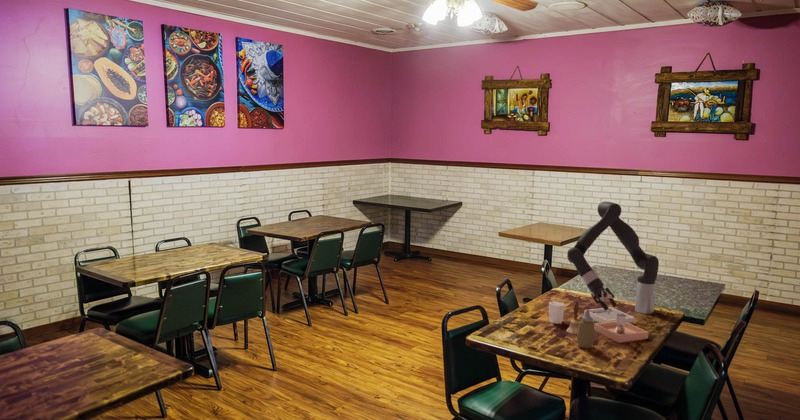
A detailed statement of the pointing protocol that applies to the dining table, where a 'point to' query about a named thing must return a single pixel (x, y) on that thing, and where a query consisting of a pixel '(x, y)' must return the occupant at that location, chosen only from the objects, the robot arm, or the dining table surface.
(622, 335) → the terracotta bin
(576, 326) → the hand bell
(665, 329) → the dining table surface
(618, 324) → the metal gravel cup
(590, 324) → the squeeze bottle
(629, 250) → the robot arm
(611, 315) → the bin
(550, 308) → the white cup
